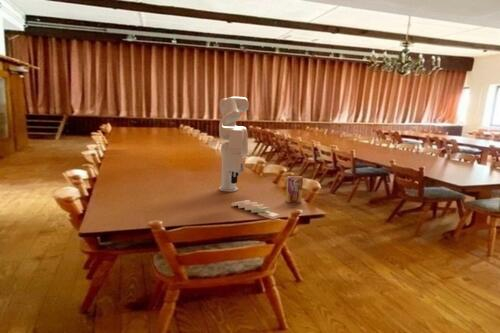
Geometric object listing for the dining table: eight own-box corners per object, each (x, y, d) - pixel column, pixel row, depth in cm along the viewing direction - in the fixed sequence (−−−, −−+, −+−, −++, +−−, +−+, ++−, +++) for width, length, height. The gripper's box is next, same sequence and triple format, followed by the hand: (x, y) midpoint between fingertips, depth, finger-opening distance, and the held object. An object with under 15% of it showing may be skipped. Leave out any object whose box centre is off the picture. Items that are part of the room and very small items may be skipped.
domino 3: (244, 207, 188) (257, 205, 181) (250, 205, 191) (263, 203, 184) (245, 210, 188) (258, 208, 181) (251, 208, 191) (264, 206, 184)
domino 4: (258, 211, 181) (273, 216, 175) (264, 209, 185) (279, 214, 178) (258, 214, 182) (273, 219, 175) (264, 212, 185) (279, 217, 179)
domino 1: (231, 203, 194) (244, 201, 187) (237, 201, 198) (250, 199, 191) (231, 206, 194) (244, 204, 187) (237, 204, 198) (250, 202, 191)
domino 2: (238, 205, 191) (250, 203, 184) (244, 203, 195) (257, 201, 188) (238, 208, 191) (251, 206, 184) (244, 206, 194) (257, 204, 188)
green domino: (250, 209, 184) (263, 208, 177) (257, 207, 188) (270, 206, 180) (251, 212, 184) (264, 211, 177) (258, 210, 188) (271, 209, 180)
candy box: (299, 200, 211) (301, 176, 208) (301, 202, 207) (303, 177, 204) (285, 200, 210) (287, 175, 207) (287, 202, 206) (288, 177, 203)
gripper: (220, 149, 193) (220, 181, 197) (240, 153, 183) (239, 187, 187) (230, 148, 198) (229, 179, 202) (249, 152, 189) (248, 184, 193)
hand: (234, 182), depth 195 cm, fingers closed
